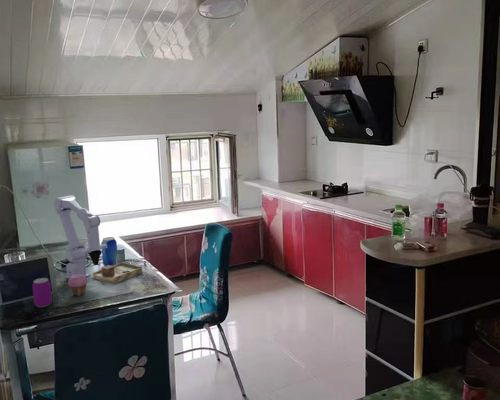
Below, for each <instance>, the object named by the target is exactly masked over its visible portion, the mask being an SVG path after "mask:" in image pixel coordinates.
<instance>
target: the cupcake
mask: <svg viewBox="0 0 500 400" xmlns="http://www.w3.org/2000/svg"><path fill="white" fill-rule="evenodd" d="M87 284H88V278H87V276H86V277H85V276H84V275H82V274H77V275H73V276H71V277H70V278H68V282H67V285H68V286H69V287H70V289H71V292H72V294H73V295H74V296H77V297H78V296H82V295H83V294H85V293H86V292H87V289H86V287H87Z"/></svg>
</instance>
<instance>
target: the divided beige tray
mask: <svg viewBox="0 0 500 400" xmlns="http://www.w3.org/2000/svg"><path fill="white" fill-rule="evenodd" d="M113 267H114V273H115V275H113V276H110V277H105V276H102V269H100V270H97V271H94V272H92V274H93V278H94V279H96V280H99V281H103V282H106V283H110V284H113V285H114V284H117V283H119V282H121V281H125V280H127V279H130V278H133V277H135V276H137V275H140V274H143V266H140V265H136V264H132V263H130V262H129V263H128V262H124V261H120V263H118V264H117V265H114V266H113Z"/></svg>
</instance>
